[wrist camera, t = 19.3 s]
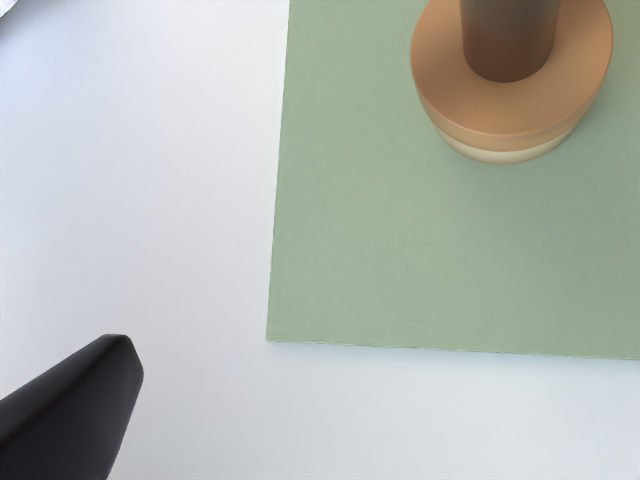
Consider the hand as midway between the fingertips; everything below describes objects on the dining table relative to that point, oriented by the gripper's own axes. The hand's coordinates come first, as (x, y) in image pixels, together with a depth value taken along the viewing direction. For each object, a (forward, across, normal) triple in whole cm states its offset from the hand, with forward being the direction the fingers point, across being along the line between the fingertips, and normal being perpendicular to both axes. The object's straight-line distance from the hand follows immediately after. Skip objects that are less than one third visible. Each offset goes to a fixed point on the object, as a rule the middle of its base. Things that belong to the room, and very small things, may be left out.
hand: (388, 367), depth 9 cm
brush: (+17, -2, +2) cm, 17 cm away
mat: (+18, -1, +1) cm, 18 cm away
